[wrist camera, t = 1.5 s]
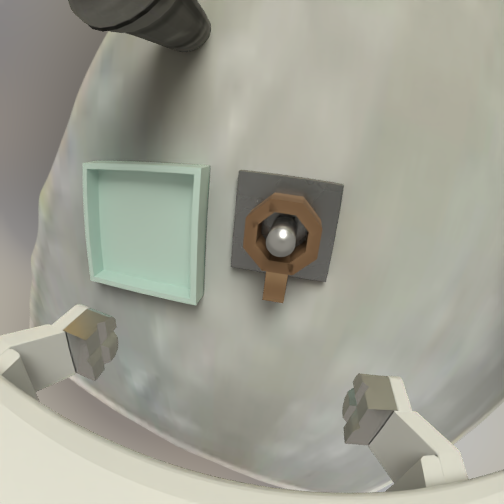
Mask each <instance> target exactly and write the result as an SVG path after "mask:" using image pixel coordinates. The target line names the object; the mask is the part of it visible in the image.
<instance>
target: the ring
mask: <svg viewBox="0 0 504 504" xmlns="http://www.w3.org/2000/svg"><path fill="white" fill-rule="evenodd" d="M274 212H277V213H284V214H291V215H296V216H297V217H298V219H299V220H300V221H301V223H302V224H303V225H304V226H305V228H306V229H307V237H306V241H304V242H303V243H301V244H300V245H299V246H297V247H296V248H294V250H293V252H292V253H291V254H290V255H288V256H285V257H277V256H274V255H272V254H271V253H270V252H269V251H268V249H267V247H266V239H265V238H264V236H263V235H262V234H261V231H262V222H263V220H265V219H266V218H267V217H269V216H270V215H271V214H273V213H274ZM321 235H322V223H321V219H320V218H319V216H318V215H317V214H316V212H315V211H314V210H313V208H312V207H311V206H310V204H309V203H308V202H307V200H306V199H305V198H304V197H303V196H296V195H289V194H282V193H273V194H272V195H271V196H269V197H268V198H267V199H265V200H264V201H263V202H262V203H260V204H259V205H258V206H256V207H255V208H254V209H252V211H251V212H250V213H249V214H248V215H247V217H246V219H245V230H244V241H243V248H244V249H245V251H246V252H247V253H248V254H249V256H250V257H251V258H252V259H253V260H254V262H255V263H256V264H257V265H258V266H259V268H260V269H261V270H262V271H266V276H265V284H264V292H263V299H262V300H267V301H273V302H279V303H283V301H284V295H285V290H286V284H287V277H288V275H294V274H295V273H297V272H298V271H300V270H301V269H303V268H304V267H306V266H307V265H309V264H310V263H312V262H313V261H315V260H316V259H317V257H318V251H319V246H320V240H321Z"/></svg>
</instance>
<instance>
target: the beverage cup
mask: <svg viewBox="0 0 504 504" xmlns="http://www.w3.org/2000/svg"><path fill="white" fill-rule="evenodd" d="M68 1H69V4H70V7H71V9H72V11H73V12H74V13H75V15H77V16H78V17H79V18H80V19H81V20H82V21H83V22H85V23H86V24H88V25H89V26H90V27H91V28H92V29H95V30H99V31H111V32H119V33H127V34H131V35H134V36H137V37H140V38H143V39H145V40H148V41H151V42H154V43H157V44H159V45H162V46H165V47H167V48H170V49H174V50H177V51H180V52H187V51H191V50H194V49H196V48H198V47H200V46H201V45H202V44H203V43H204V42H206V40H207V38H208V37H209V35H210V31H211V24H210V22H209V20H208V18H207V16H206V14H205V12H204V10H203V9H202V7H201V6H200V4H199V3H198V1H197V0H68Z"/></svg>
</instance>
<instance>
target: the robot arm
mask: <svg viewBox="0 0 504 504" xmlns="http://www.w3.org/2000/svg"><path fill="white" fill-rule="evenodd" d="M115 328H116V320H115V318H114V317H112V316H110V315H107V314H104V313H102V312H99V311H97V310H94V309H92V308H88V307H86V306H84V305H81V304H78V305H75V306H74V307H73V308H72V309H71V310H69V311H68V312H67V313H66V314H64V315H63V316H62V317H61V318H60V319H58V320H57V321H56V322H55V323H54V324H52V325H49V324H47V325H43V326H39V327H34V328H30V329H26V330H22V331H18V332H14V333H9V334H5V335H1V336H0V504H504V470H501V471H498V472H495V473H491V474H488V475H484V476H480V477H476V478H472V479H468V476H467V473H466V470H465V466H464V463H463V459H462V456H461V453H460V451H459V450H458V449H457V448H456V447H455V446H454V445H453V444H451V443H450V442H449V441H448V440H447V439H446V438H445V437H444V436H443V435H442V434H440V433H439V432H438V431H437V430H436V429H435V428H434V427H433V426H432V425H431V424H429V423H428V422H427V421H426V420H425V419H424V418H423V417H422V416H421V415H420V414H418V413H417V412H415V411H412V408H411V405H410V402H409V398H408V395H407V392H406V389H405V386H404V383H403V380H402V378H401V377H396V376H379V375H369V374H360V373H359V374H358V375H357V376H356V377H355V379H354V381H353V386H354V388H353V389H351V390H349V391H348V393H347V395H346V397H345V399H344V403H343V410H342V414H343V418H344V419H345V421H346V422H347V423H346V425H345V426H344V440H345V444H358V445H369V446H368V447H369V448H370V450H371V451H372V452H373V454H374V455H375V457H376V458H377V459H378V461H379V462H380V464H381V465H382V467H383V468H384V469H385V471H386V472H387V474H388V475H389V476H390V478H391V479H392V481H393V482H394V485H392V486H391V487H390V488H389V489H387V490H386V491H385V492H373V493H328V492H310V491H298V490H288V489H280V488H272V487H266V486H259V485H253V484H247V483H242V482H237V481H233V480H228V479H224V478H219V477H215V476H211V475H207V474H203V473H199V472H196V471H192V470H189V469H185V468H182V467H178V466H175V465H173V464H169V463H166V462H163V461H161V460H157V459H155V458H152V457H149V456H147V455H144V454H141V453H139V452H136V451H134V450H131V449H129V448H126V447H124V446H122V445H119V444H117V443H115V442H113V441H110V440H108V439H106V438H104V437H102V436H100V435H98V434H96V433H94V432H91V431H90V430H88V429H86V428H84V427H82V426H80V425H78V424H76V423H74V422H72V421H71V420H69V419H67V418H65V417H63V416H62V415H60V414H58V413H56V412H55V411H53V410H52V409H50V408H48V407H46V406H45V405H43V404H42V403H40V401H39V399H38V397H37V395H36V392H37V391H39V390H42V389H44V388H46V387H48V386H50V385H53V384H55V383H57V382H59V381H61V380H63V379H66V378H68V377H70V376H72V375H75V374H76V373H78V374H80V375H82V376H84V377H87V378H89V379H91V380H94V381H96V380H97V378H98V377H99V376H100V375H101V373H102V372H103V371H104V370H105V367H104V364H106V363H108V362H111V361H112V360H113V358H114V357H115V355H116V352H117V350H118V337H117V335H116V334H115V332H114V330H115Z"/></svg>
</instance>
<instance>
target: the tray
mask: <svg viewBox="0 0 504 504" xmlns="http://www.w3.org/2000/svg"><path fill="white" fill-rule="evenodd" d="M209 179H210V166H207V165H194V164H180V163H163V162H140V161H92V162H87V163H83V204H84V222H85V234H86V245H87V255H88V263H89V271H90V278H91V280H92V281H95V282H99V283H103V284H106V285H110V286H114V287H118V288H122V289H126V290H130V291H134V292H138V293H142V294H146V295H151V296H155V297H159V298H164V299H168V300H172V301H177V302H182V303H186V304H191V305H197V303H198V302H199V300H200V299H201V297H202V296H203V294H204V275H205V249H206V228H207V210H208V193H209Z"/></svg>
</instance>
